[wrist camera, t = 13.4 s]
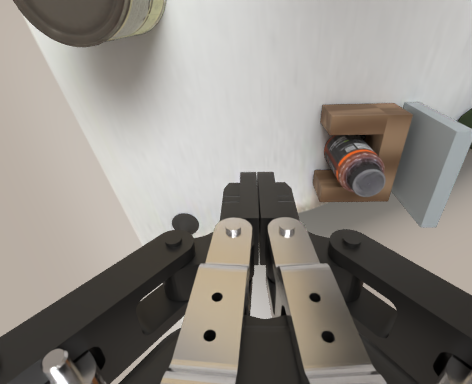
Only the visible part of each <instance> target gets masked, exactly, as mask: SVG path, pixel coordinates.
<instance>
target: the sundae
mask: <svg viewBox="0 0 472 384" xmlns="http://www.w3.org/2000/svg"><path fill="white" fill-rule="evenodd" d="M172 225H173V228H174V229H175V230H184V231H187V232H189V233H190V234H193V233H195V232H196V231H197V230H198V227H199V223H198V221H197V219H196V218H195V217H194V216H192V215H190V214H178V215H177V216H175V217H174V219H173V220H172Z"/></svg>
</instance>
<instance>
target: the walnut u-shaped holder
mask: <svg viewBox="0 0 472 384" xmlns="http://www.w3.org/2000/svg"><path fill="white" fill-rule="evenodd" d="M412 117H413V114H411V113H410V112H408V111H406V110H405V109H403V108H401V107H400V106H398V105H396V104H395V103H377V104H334V105H322V114H321V123H322V125H323V126H324V128H325V129H326V131H327V132H328V134H329V135H366V137H365V142H366V143H367V144H368V146H370V148H371V149H372V150H373V151H374V152H375V153H376V154H377V155H378V156H379V157H380V158H381V160H382V161H383V164H384V167H385V168H384V169H385V171H384V175H385V178H386V182H385V185H384V187H383V189H382V190H381V191H380V192H379V193H377V194H376V195H373V196H370V197H361V196H359V195H357V194H356V193H354V192H350V191H348V190H346V189H344V188H343V187H342V186H341V184H340V183H339V181H338V180H337V178H336V176H335V174H334V173H333V171H332V170H314V179H313V185H314V188H315V190H316V193H317V196H318V198H319V201H320V202H364V201H365V202H368V201H388V200H389V196H390V192H391V189H392V186H393V182H394V179H395V176H396V172H397V169H398V165H399V162H400V158H401V155H402V151H403V148H404V144H405V141H406V138H407V134H408V131H409V127H410V124H411V120H412Z"/></svg>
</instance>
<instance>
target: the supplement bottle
mask: <svg viewBox="0 0 472 384" xmlns="http://www.w3.org/2000/svg"><path fill="white" fill-rule="evenodd" d="M324 155H325V158H326V161H327V162H328V164H329V166H330V168H331V169H332V171H333V173H334V174H335V176H336V178H337V180H338V181H339V183H340V184H341V186H342V187H343V188H344V189H346V190H348V191H350V192H354V193H356V194H357V195H359V196H361V197H370V196H373V195H376V194H377V193H379V192H380V191H381V190H382V189H383V187H384V185H385V182H386V178H385V175H384V171H385V169H384V168H385V167H384V164H383V161H382V160H381V158H380V157H379V156H378V155H377V154H376V153H375V152H374V151H373V150H372V149H371V148H370V146H368V144H367V143H366V142H365V141H364V140H363V139H362V138H361V137H360V136H359V135H333V136H332V137H331V138H330V139H329V140H328V142H327V143H326V145H325V149H324Z"/></svg>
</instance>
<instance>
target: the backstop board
mask: <svg viewBox="0 0 472 384" xmlns="http://www.w3.org/2000/svg"><path fill="white" fill-rule="evenodd" d="M403 109H405V110H406V111H408V112H410V113H411V114H413V117H412V120H411V124H410V127H409V131H408V134H407V138H406V141H405V144H404V148H403V151H402V155H401V158H400V162H399V165H398V169H397V172H396V176H395V179H394V182H393V186H392V189H391V192H392V193H393V194H394V195H395V197H396V198H397V199H398V200H399V201H400V203H401V204H402V205H403V207H404V208H405V209H406V210H407V211H408V213H409V214H410V215H411V216H412V218H413V219H414V220H415V221H416V223H417V224H418V225H419V226H420V227H437V224H438V222H439V220H440V217H441V215H442V212H443V210H444V208H445V205H446V203H447V200H448V198H449V195H450V193H451V190H452V188H453V186H454V183H455V181H456V179H457V176H458V174H459V172H460V169H461V167H462V164H463V162H464V159H465V157H466V155H467V152H468V150H469V148H470V145H471V143H472V129H471V128H469V127H467V126H465V125H463V124H461V123H459V122H457V121H455V120H454V119H452V118H450V117H448V116H446V115H444V114H442V113H440V112H438V111H436V110H434V109H432V108H430V107H428V106H426V105H424V104H422V103H420V102H405V104H404V107H403Z"/></svg>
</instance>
